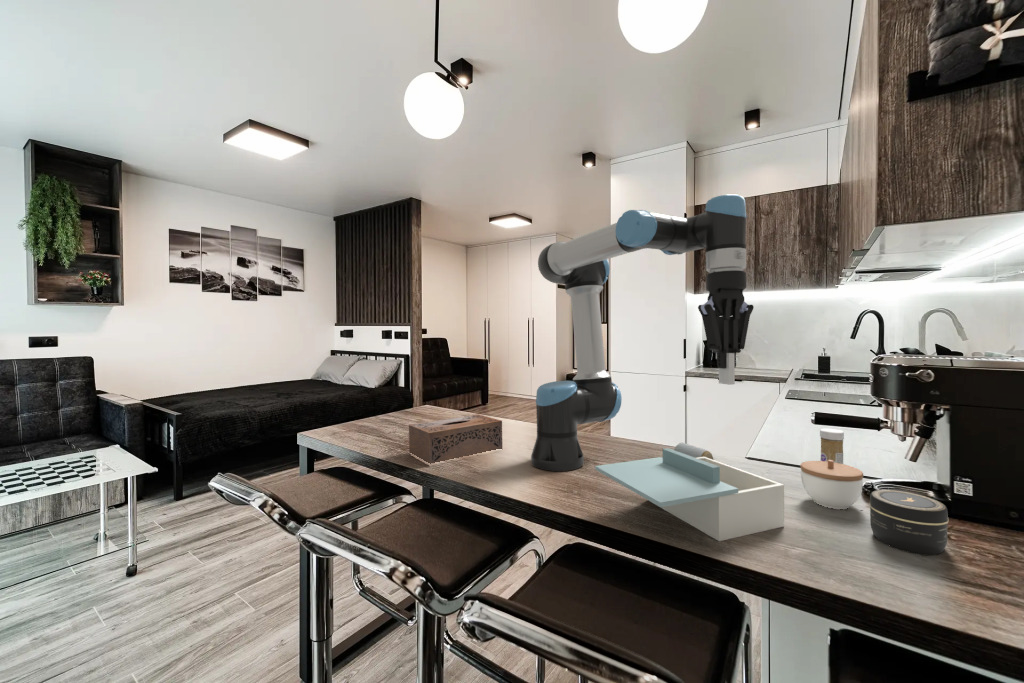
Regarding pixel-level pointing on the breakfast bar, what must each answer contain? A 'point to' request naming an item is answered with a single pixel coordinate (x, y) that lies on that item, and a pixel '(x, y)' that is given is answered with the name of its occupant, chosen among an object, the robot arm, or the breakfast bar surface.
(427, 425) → the tissue box cover
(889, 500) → the jar
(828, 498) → the lidded jar
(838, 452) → the sprinkles bottle
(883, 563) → the breakfast bar surface
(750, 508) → the box
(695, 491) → the lid
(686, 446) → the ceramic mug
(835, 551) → the breakfast bar surface
